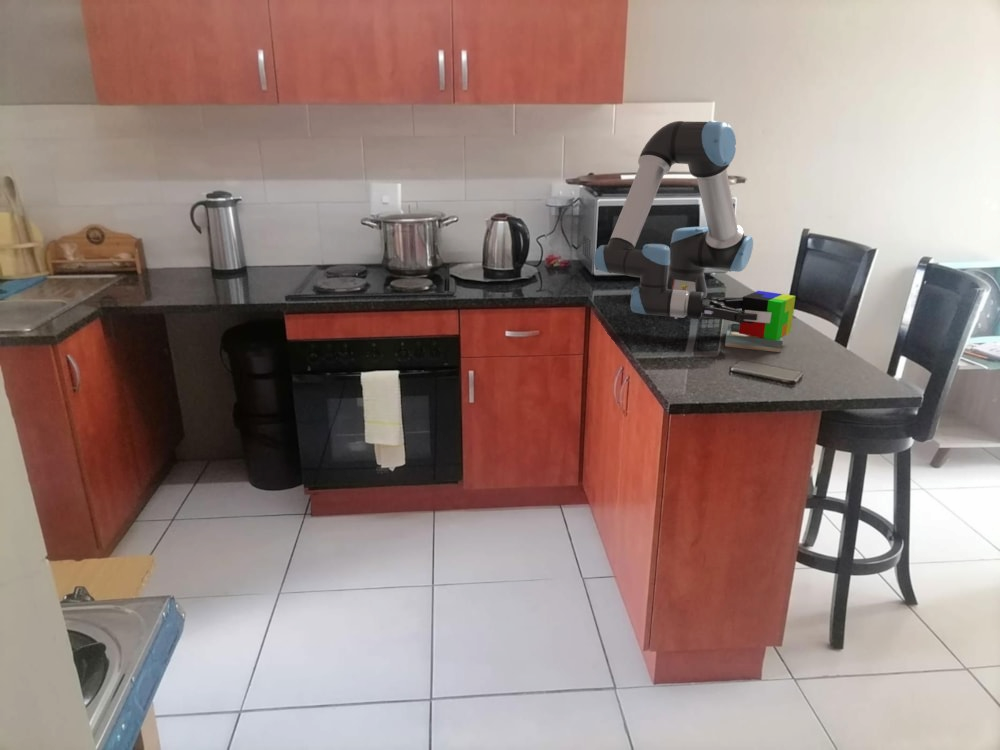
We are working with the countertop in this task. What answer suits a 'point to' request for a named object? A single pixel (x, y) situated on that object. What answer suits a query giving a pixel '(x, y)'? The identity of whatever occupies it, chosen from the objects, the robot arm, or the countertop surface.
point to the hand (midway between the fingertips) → (771, 312)
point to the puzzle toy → (779, 318)
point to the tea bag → (683, 285)
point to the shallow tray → (750, 340)
